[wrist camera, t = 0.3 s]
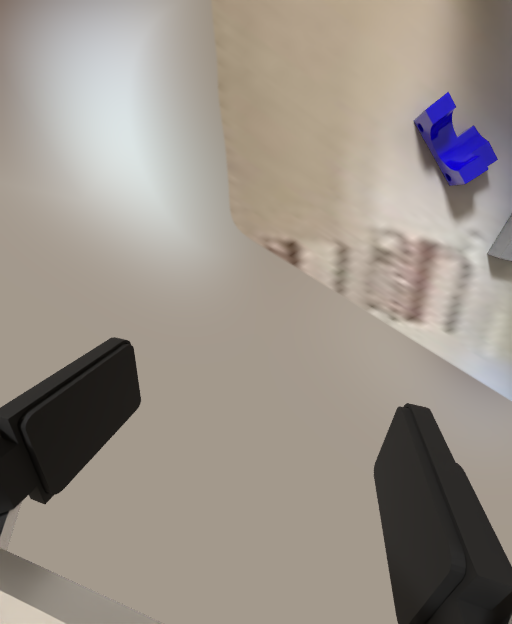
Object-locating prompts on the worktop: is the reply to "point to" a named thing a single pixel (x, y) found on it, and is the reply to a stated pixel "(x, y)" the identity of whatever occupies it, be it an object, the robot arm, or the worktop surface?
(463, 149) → the cable holder
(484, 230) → the worktop surface
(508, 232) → the tray
